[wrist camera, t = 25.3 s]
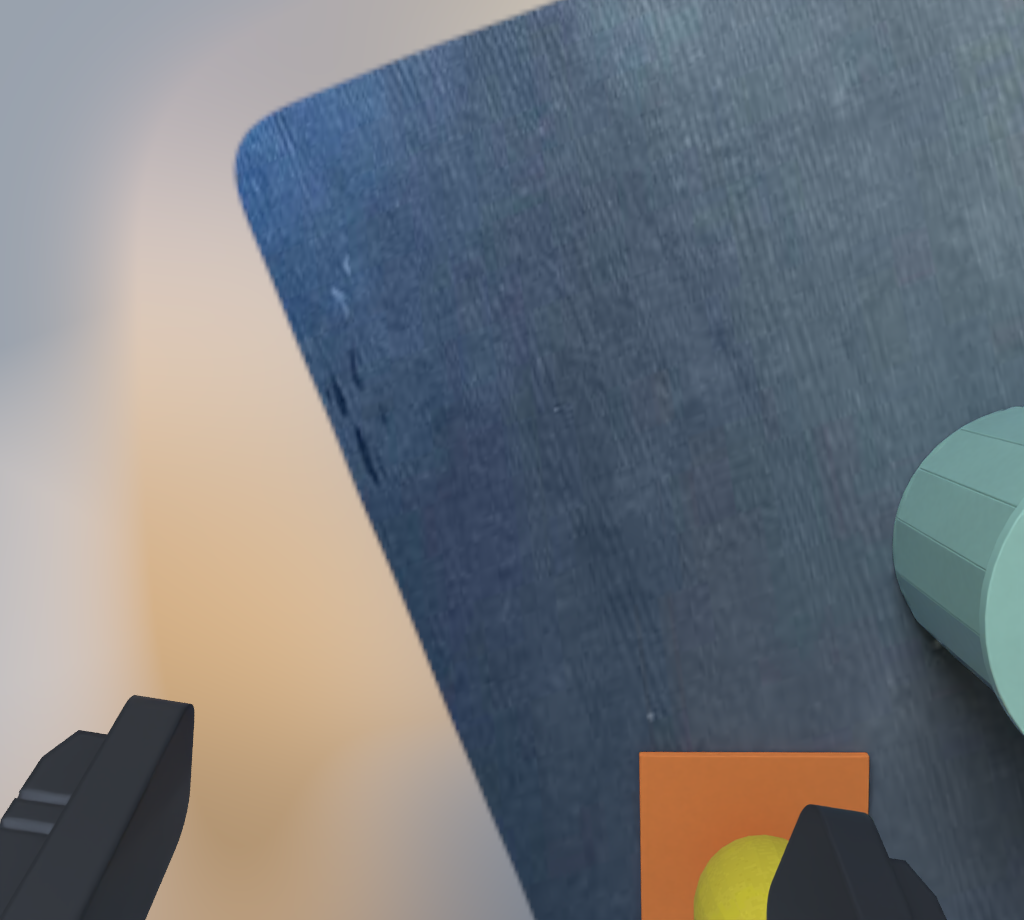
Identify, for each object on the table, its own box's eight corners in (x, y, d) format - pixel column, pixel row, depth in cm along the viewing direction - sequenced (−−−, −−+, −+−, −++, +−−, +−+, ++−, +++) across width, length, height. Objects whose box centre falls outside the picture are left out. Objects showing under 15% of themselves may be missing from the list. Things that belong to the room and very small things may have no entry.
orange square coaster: (641, 956, 40) (642, 962, 40) (638, 751, 39) (639, 755, 39) (862, 960, 39) (865, 967, 39) (866, 752, 38) (869, 756, 38)
